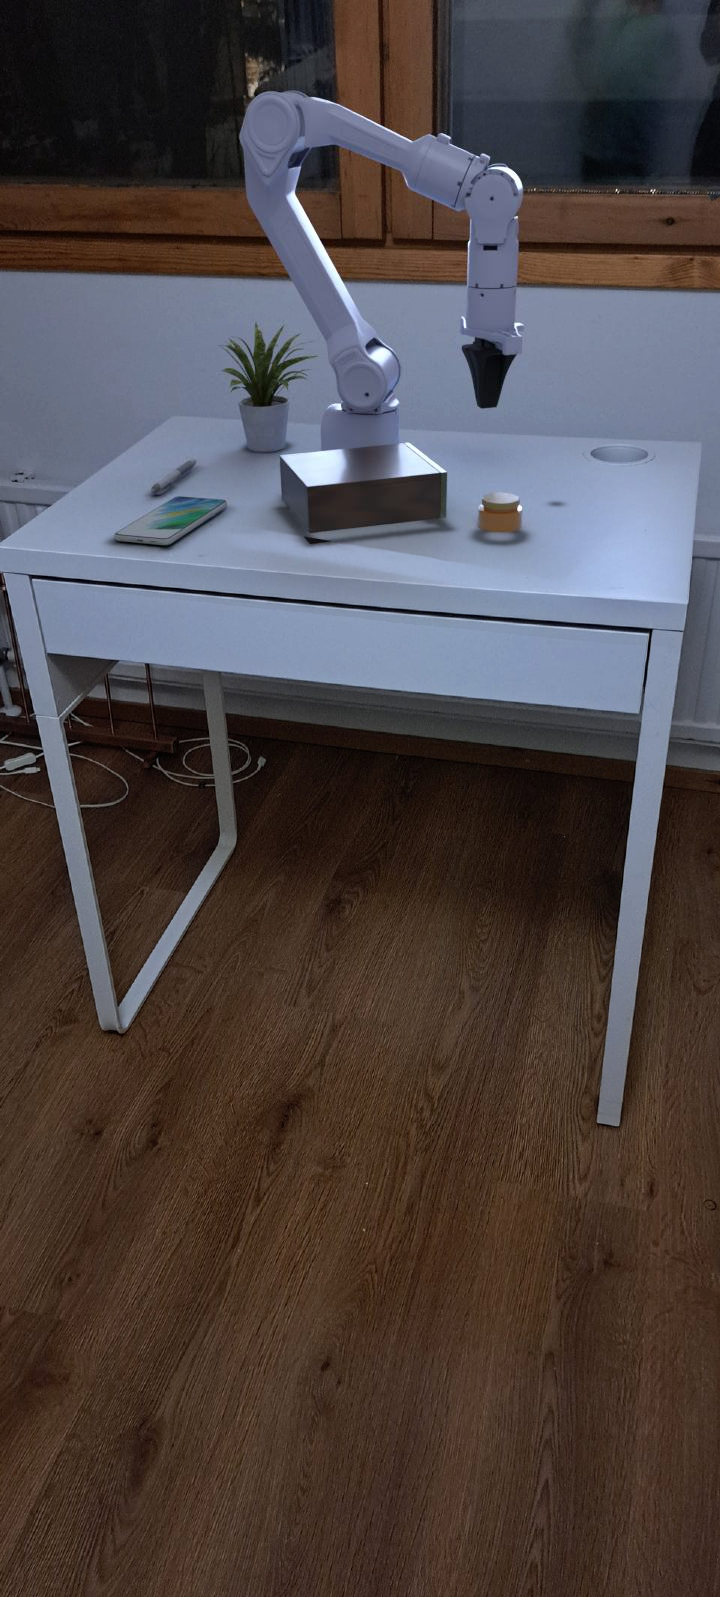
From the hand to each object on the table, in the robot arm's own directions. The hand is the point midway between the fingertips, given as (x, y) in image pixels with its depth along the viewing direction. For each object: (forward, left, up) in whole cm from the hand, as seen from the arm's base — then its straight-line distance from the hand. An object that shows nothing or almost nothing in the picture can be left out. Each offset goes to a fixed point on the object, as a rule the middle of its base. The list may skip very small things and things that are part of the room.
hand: (487, 406), depth 140 cm
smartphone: (-26, -30, -9) cm, 41 cm away
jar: (+9, -17, -9) cm, 22 cm away
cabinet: (-8, -19, -9) cm, 22 cm away
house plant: (-34, +2, -10) cm, 35 cm away
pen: (-36, -16, -10) cm, 41 cm away
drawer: (-7, -18, -9) cm, 21 cm away
